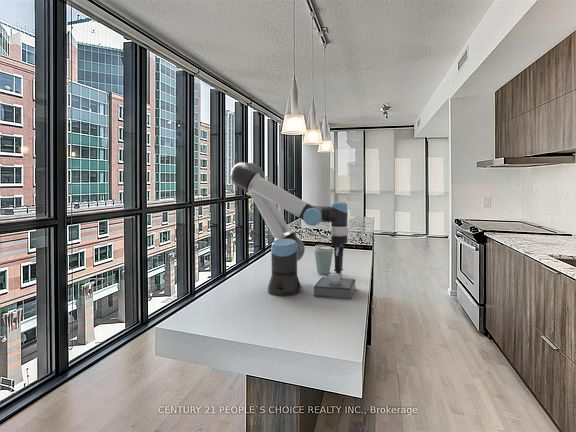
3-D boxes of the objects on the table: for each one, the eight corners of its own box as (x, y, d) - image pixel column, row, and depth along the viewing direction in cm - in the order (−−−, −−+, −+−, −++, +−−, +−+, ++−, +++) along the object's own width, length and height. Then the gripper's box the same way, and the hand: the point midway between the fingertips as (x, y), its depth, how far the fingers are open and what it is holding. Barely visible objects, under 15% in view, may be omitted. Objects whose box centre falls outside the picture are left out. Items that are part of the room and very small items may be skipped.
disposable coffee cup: (333, 271, 218) (333, 244, 217) (333, 275, 207) (333, 248, 206) (314, 270, 219) (314, 244, 218) (313, 275, 208) (313, 247, 207)
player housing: (350, 299, 166) (350, 278, 165) (313, 296, 170) (314, 276, 170) (355, 289, 181) (355, 270, 180) (321, 286, 186) (321, 268, 185)
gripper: (345, 237, 176) (344, 288, 178) (348, 233, 189) (348, 281, 191) (328, 236, 178) (328, 287, 180) (333, 232, 191) (333, 280, 193)
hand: (338, 284), depth 185 cm, fingers closed
